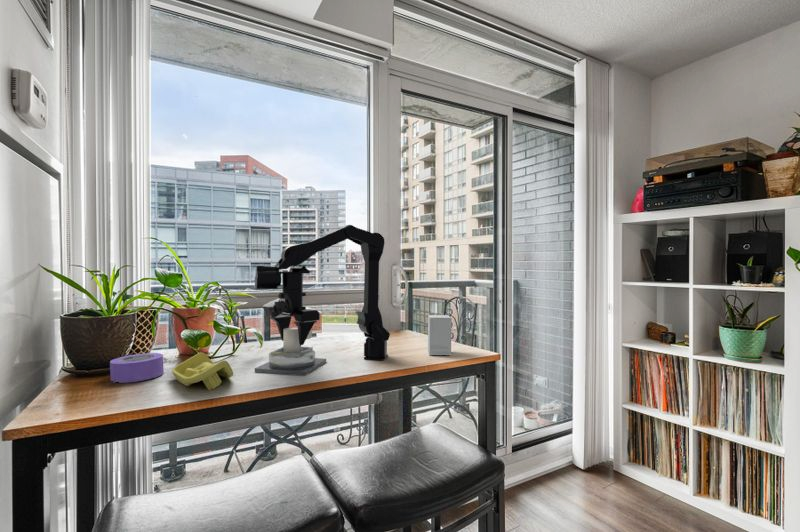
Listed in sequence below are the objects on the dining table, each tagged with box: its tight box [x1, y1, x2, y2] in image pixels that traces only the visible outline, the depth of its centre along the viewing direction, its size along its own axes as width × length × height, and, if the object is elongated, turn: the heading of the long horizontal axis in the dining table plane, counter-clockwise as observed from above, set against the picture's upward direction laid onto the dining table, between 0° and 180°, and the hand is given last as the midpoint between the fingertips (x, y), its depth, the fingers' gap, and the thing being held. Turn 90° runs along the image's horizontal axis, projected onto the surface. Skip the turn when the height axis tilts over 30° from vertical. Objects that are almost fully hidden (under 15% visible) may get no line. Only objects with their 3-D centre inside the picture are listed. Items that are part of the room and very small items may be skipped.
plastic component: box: [171, 351, 234, 391], centre depth 102 cm, size 20×7×10 cm
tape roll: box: [109, 352, 165, 384], centre depth 107 cm, size 12×12×5 cm
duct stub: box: [254, 346, 327, 376], centre depth 118 cm, size 15×15×5 cm
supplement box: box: [427, 314, 452, 356], centre depth 136 cm, size 7×7×13 cm
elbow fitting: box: [282, 327, 313, 353], centre depth 119 cm, size 8×5×7 cm, turn 138°
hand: (292, 342), depth 118 cm, fingers open, 9 cm apart
